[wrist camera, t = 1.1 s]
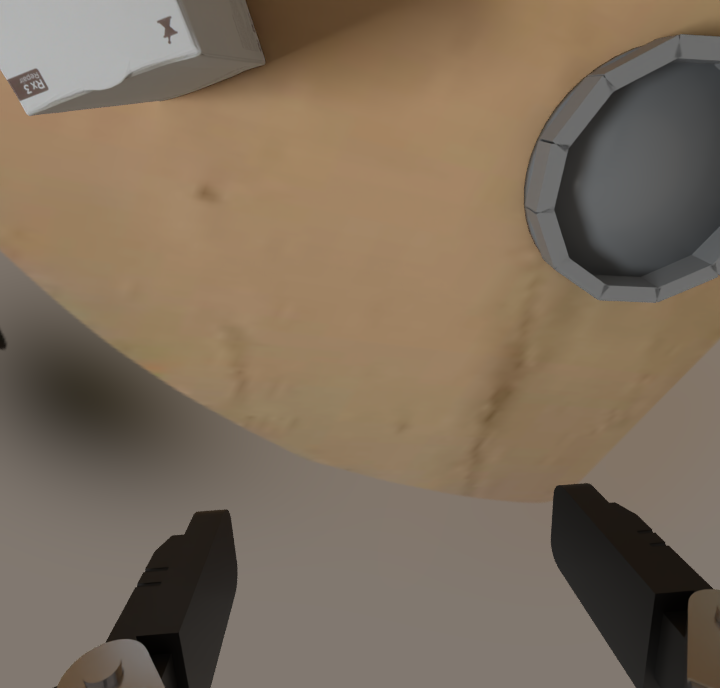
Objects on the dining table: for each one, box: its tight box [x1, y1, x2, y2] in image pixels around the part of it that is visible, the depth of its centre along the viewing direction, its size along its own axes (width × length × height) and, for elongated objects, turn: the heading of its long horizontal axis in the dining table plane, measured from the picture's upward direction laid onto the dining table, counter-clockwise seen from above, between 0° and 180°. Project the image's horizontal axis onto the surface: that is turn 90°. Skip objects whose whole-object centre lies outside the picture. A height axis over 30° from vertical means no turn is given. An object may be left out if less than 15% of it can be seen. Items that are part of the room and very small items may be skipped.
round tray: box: [524, 34, 720, 303], centre depth 33 cm, size 17×17×3 cm
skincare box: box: [0, 0, 265, 116], centre depth 24 cm, size 8×6×15 cm
